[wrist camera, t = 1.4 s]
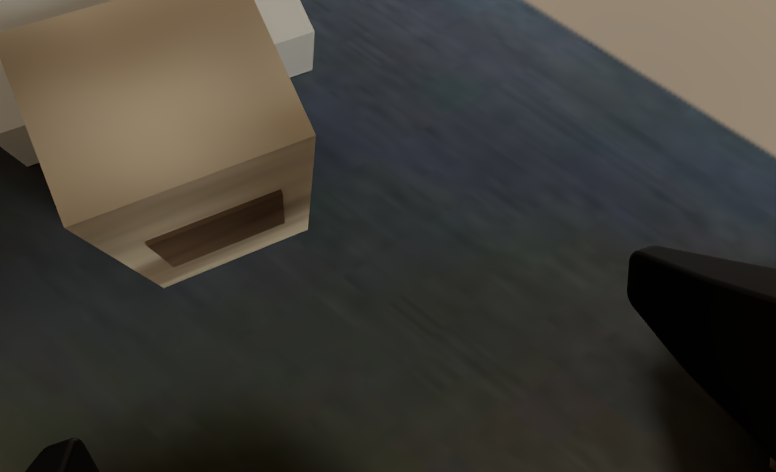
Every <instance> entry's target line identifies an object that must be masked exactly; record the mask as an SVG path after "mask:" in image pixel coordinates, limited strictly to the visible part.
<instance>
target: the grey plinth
mask: <svg viewBox="0 0 776 472" xmlns="http://www.w3.org/2000/svg"><path fill="white" fill-rule="evenodd" d="M108 1H112V0H0V32H3V31H7V30H10V29H14V28H17V27H21V26H24V25H28V24H31V23H35V22H38V21H42V20H45V19H49V18H52V17H56V16H59V15H63V14H66V13H70V12H73V11H77V10H80V9H84V8H87V7H91V6H94V5H98V4H101V3H105V2H108ZM254 1H255V3H256V5H257V8H258V10H259V12H260V14H261V16H262V18H263V21H264V23H265V25H266V27H267V29H268V32H269V34H270V36H271V38H272V40H273V43H274V45H275V47H276V49H277V51H278V54H279V56H280V58H281V60H282V62H283V64H284V67H285V69H286V71H287V73H288V75H289V78H290V77H293V76H296V75H299V74H302V73H305V72H308V71H311V70H312V67H313V49H314V29H313V27H312V25H311V23H310V21H309V19H308V17H307V15H306V12H305V10H304V8H303V6H302V4H301V2H300V0H254ZM0 147H1V148H3V149H4V150H5V151H7V152H8V153H9V154H11V155H12V156H13V157H15V158H16V159H17V160H19V161H20V162H21V163H23V164H24V165H25V166H27V167H28V166H31V165H34V164H37V163H39V160H38V158H37V155H36V152H35V150H34V147H33V144H32V142H31V139H30V136H29V134H28V131H27V129H26V126H25V123H24V121H23V118H22V115H21V113H20V110H19V107H18V105H17V102H16V99H15V97H14V94H13V92H12V89H11V86H10V84H9V81H8V78H7V76H6V73H5V70H4V68H3V65H2V62H1V60H0Z"/></svg>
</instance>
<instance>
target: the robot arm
mask: <svg viewBox="0 0 776 472" xmlns="http://www.w3.org/2000/svg"><path fill="white" fill-rule="evenodd" d="M627 295H628V298H629V301H630V303H631V305H632V306H633V307H634V309H635V310H636V311H637V312H638V313H639V315H640V316H641V317H642V318H643V320H644V321H645V322H646V323H647V324H648V326H649V327H650V328H651V329H652V331H653V332H654V333H655V334H656V336H657V337H658V338H659V339H660V340H661V342H662V343H663V344H664V345H665V347H666V348H667V349H668V350H669V352H670V353H671V354H672V355H673V356H674V358H675V359H676V360H677V361H678V362H679V364H680V365H681V366H682V367H683V368H684V369H685V371H686V372H687V373H688V374H689V375H690V376H691V377H692V378H693V379H694V380H695V381H696V382H697V383H698V384H699V385H700V386H701V387H702V388H703V389H704V390H705V391H706V392H707V393H708V394H709V395H710V396H711V397H712V398H713V399H714V400H715V401H716V403H717V404H718V405H719V406H720V407H721V408H722V409H723V410H724V411H725V412H726V413H727V414H728V415H729V416H730V417H731V418H732V419H733V420H734V421H735V422H736V423H737V424H738V425H739V426H740V427H741V428H742V429H743V430H744V431H745V432H746V433H747V434H748V435H749V436H750V437H751V438H752V439H753V440H754V441H755V442H756V443H757V444H758V445H759V446H760V447H761V448H762V449H763V450H764V451H765V452H766V453H767V454H768V455H769V456H770V457H771V458H772V459H773V460H774V461H775V462H776V269H775V268H770V267H765V266H759V265H754V264H749V263H744V262H739V261H734V260H728V259H723V258H718V257H713V256H708V255H702V254H697V253H692V252H687V251H682V250H677V249H671V248H666V247H661V246H649V247H646V248H643V249H640V250H637V251H635V252H634V253H632V255H631V257H630V259H629V270H628V284H627ZM25 472H99V470H98V468H97V467H96V465H95V463H94V461H93V459H92V458H91V456H90V454H89V452H88V450H87V449H86V447H85V445H84V443H83V442H82V441H81V440H80V439H77V438H71V439H68V440H65V441H62V442H59V443H56V444H53V445H50V446H48V447H46V448H45V449H43V451H42V452H41V453H40V454H39V455H38V456H37V458H36V459H35V460H34V461H33V462H32V464H31V465H30V466H29V467H28V469H27V470H26V471H25Z"/></svg>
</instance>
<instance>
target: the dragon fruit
mask: <svg viewBox="0 0 776 472" xmlns="http://www.w3.org/2000/svg"><path fill="white" fill-rule="evenodd" d="M770 468H771V469H773V470H775V471H776V462H775V461H774V460H773V459H772V458H771V457H770Z"/></svg>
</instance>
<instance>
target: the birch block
mask: <svg viewBox="0 0 776 472" xmlns="http://www.w3.org/2000/svg"><path fill="white" fill-rule="evenodd" d="M0 60H1V62H2V65H3V68H4V70H5V73H6V76H7V78H8V81H9V84H10V86H11V89H12V92H13V94H14V97H15V99H16V102H17V105H18V107H19V110H20V113H21V115H22V118H23V121H24V123H25V126H26V129H27V131H28V134H29V136H30V139H31V142H32V144H33V147H34V150H35V152H36V155H37V158H38V160H39V163H40V166H41V168H42V171H43V173H44V176H45V179H46V181H47V184H48V187H49V189H50V192H51V195H52V197H53V200H54V203H55V205H56V208H57V210H58V213H59V216H60V218H61V221H62V224H63V226H64V228H65V229H67V230H68V231H70V232H72V233H73V234H75V235H77V236H78V237H80V238H82V239H83V240H85V241H87V242H88V243H90V244H92V245H93V246H95V247H97V248H98V249H100V250H102V251H103V252H105V253H107V254H108V255H110V256H112V257H113V258H115V259H116V260H118V261H120V262H121V263H123V264H125V265H126V266H128V267H130V268H131V269H133V270H135V271H136V272H138V273H140V274H141V275H143V276H145V277H146V278H148V279H150V280H151V281H153V282H155V283H156V284H158V285H160V286H161V287H163V288H165V287H168V286H170V285H172V284H175V283H177V282H180V281H182V280H185V279H187V278H190V277H192V276H195V275H197V274H199V273H202V272H204V271H207V270H209V269H212V268H214V267H217V266H219V265H222V264H224V263H227V262H229V261H231V260H234V259H236V258H239V257H241V256H244V255H246V254H249V253H251V252H254V251H256V250H258V249H261V248H263V247H266V246H268V245H271V244H273V243H276V242H278V241H281V240H283V239H285V238H288V237H290V236H293V235H295V234H298V233H300V232H303V231H305V230H308V220H309V209H310V197H311V186H312V174H313V162H314V151H315V139H316V135H315V132H314V130H313V128H312V126H311V124H310V121H309V119H308V117H307V115H306V113H305V110H304V108H303V106H302V104H301V102H300V100H299V97H298V95H297V93H296V91H295V89H294V86H293V84H292V82H291V80H290V78H289V75H288V73H287V71H286V69H285V67H284V64H283V62H282V60H281V58H280V56H279V54H278V51H277V49H276V47H275V45H274V43H273V40H272V38H271V36H270V34H269V32H268V29H267V27H266V25H265V23H264V21H263V18H262V16H261V14H260V12H259V10H258V8H257V5H256V3H255V1H254V0H112V1H108V2H105V3H101V4H98V5H94V6H91V7H87V8H84V9H80V10H77V11H73V12H70V13H66V14H63V15H59V16H56V17H52V18H49V19H45V20H42V21H38V22H35V23H31V24H28V25H24V26H21V27H17V28H14V29H10V30H7V31H3V32H0Z"/></svg>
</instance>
